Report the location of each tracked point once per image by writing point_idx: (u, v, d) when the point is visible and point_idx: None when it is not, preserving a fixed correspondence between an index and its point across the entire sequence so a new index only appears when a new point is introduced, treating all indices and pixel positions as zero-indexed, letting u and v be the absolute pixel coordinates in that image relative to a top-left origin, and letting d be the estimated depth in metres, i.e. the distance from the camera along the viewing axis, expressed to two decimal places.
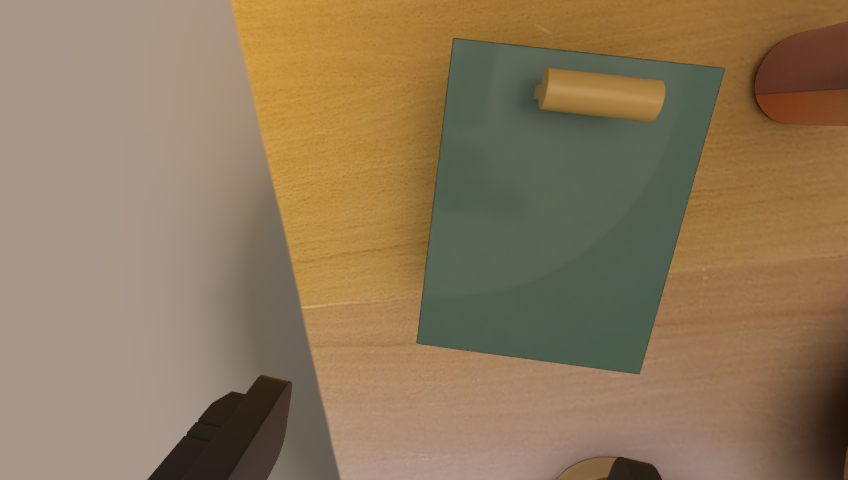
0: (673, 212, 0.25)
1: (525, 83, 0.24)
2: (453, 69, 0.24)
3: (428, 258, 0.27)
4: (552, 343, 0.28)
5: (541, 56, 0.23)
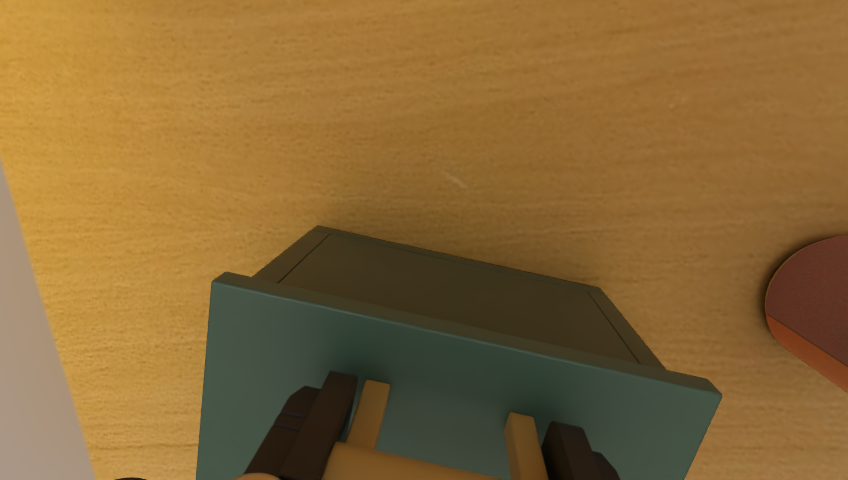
0: None
1: (348, 372, 0.12)
2: (214, 333, 0.12)
3: None
4: None
5: (378, 333, 0.12)
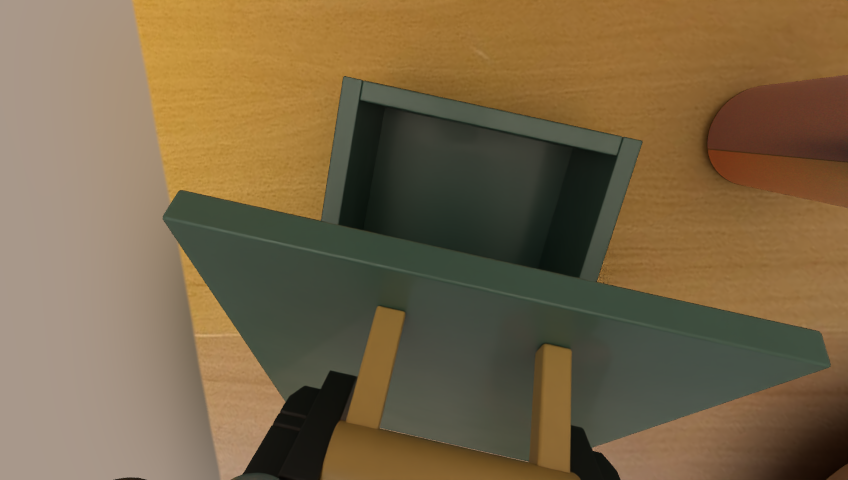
0: (621, 428, 0.15)
1: (356, 298, 0.11)
2: (194, 257, 0.10)
3: (271, 378, 0.19)
4: (442, 437, 0.23)
5: (382, 277, 0.09)
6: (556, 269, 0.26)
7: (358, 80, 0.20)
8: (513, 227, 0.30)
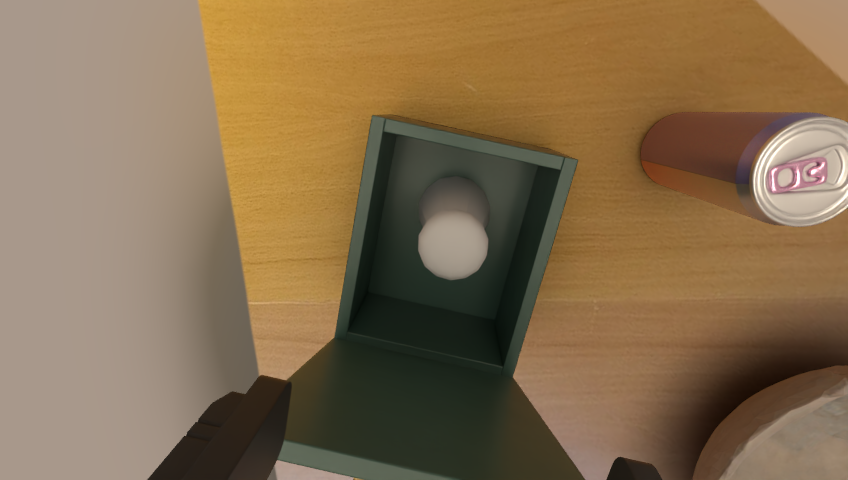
0: None
1: None
2: None
3: None
4: None
5: None
6: (524, 249, 0.35)
7: (382, 118, 0.30)
8: (495, 218, 0.39)
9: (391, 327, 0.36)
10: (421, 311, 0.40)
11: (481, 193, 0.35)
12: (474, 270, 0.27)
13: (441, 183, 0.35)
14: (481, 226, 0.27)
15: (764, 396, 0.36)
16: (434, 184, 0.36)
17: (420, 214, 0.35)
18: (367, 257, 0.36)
